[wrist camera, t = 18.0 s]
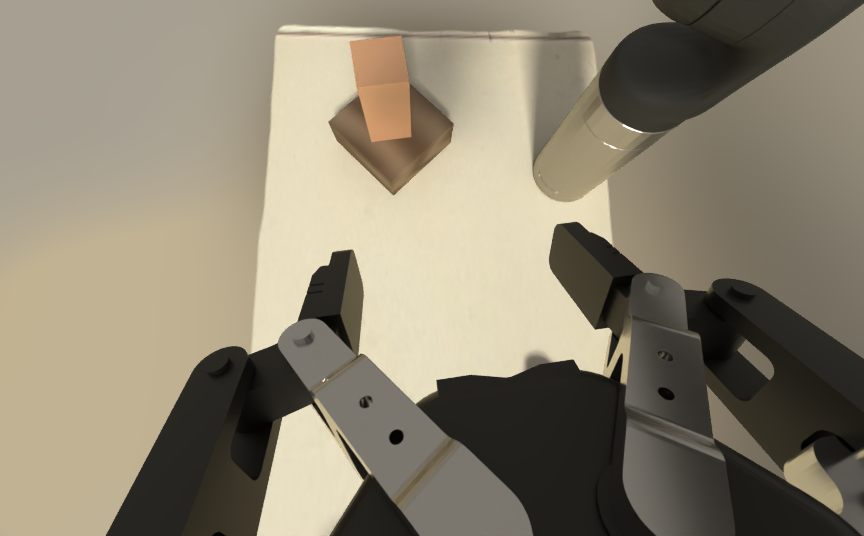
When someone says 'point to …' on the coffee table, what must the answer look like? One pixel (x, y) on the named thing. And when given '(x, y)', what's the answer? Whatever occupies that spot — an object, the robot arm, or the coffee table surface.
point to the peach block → (383, 86)
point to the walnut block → (394, 141)
